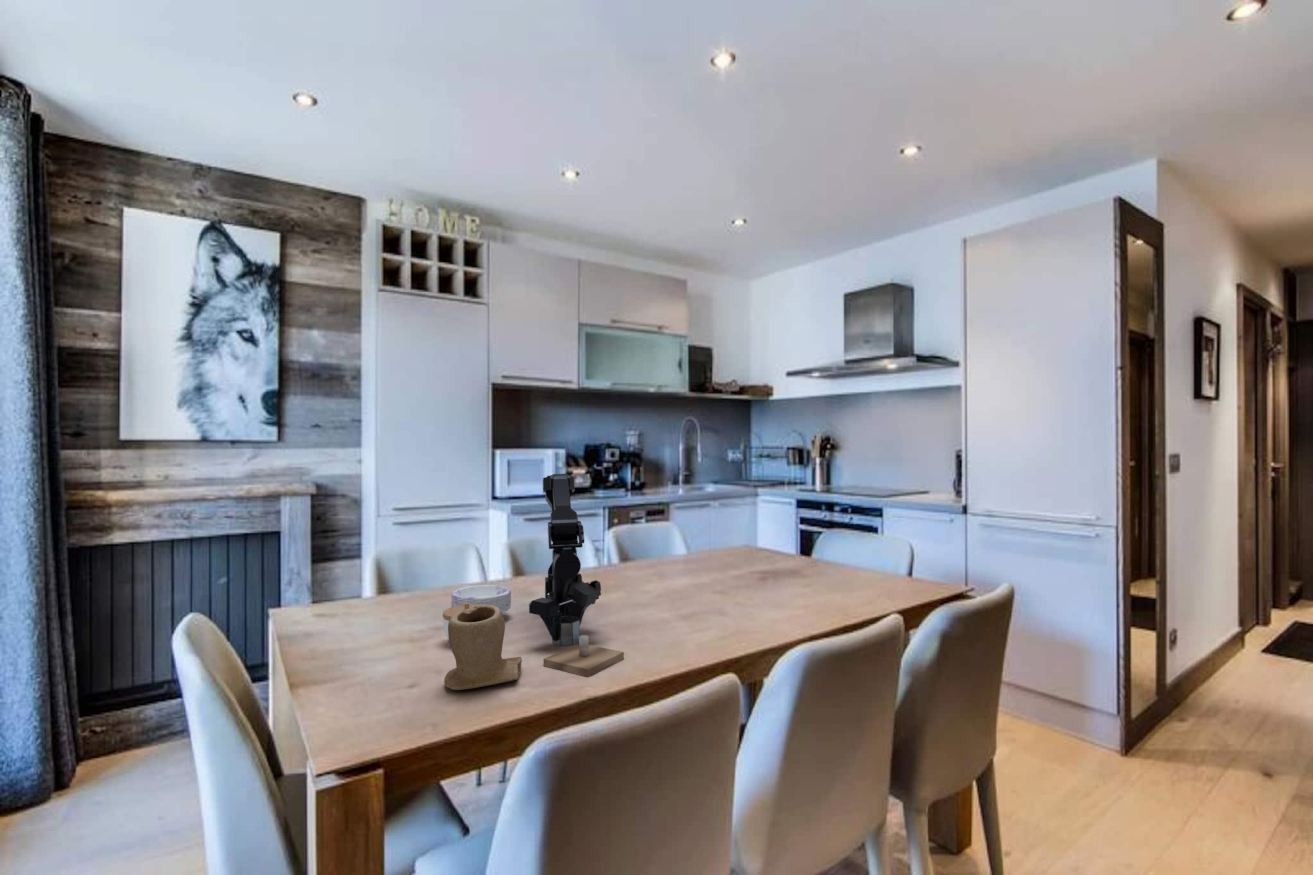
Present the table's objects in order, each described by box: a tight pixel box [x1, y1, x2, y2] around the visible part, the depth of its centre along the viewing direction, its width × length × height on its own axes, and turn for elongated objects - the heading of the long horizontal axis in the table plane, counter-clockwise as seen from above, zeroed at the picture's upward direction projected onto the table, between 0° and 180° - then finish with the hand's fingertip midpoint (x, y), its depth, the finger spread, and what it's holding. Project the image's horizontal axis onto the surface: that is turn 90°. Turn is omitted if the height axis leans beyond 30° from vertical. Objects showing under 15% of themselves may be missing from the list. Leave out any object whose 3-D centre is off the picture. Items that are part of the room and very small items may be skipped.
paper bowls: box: [450, 584, 512, 615], centre depth 166 cm, size 15×15×8 cm
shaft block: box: [543, 634, 625, 678], centre depth 133 cm, size 12×12×6 cm
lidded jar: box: [442, 603, 477, 640], centre depth 147 cm, size 11×11×9 cm
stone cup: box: [443, 605, 523, 691], centre depth 122 cm, size 15×12×15 cm
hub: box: [551, 616, 581, 647], centre depth 147 cm, size 6×6×5 cm
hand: (565, 636), depth 147 cm, fingers open, 7 cm apart
